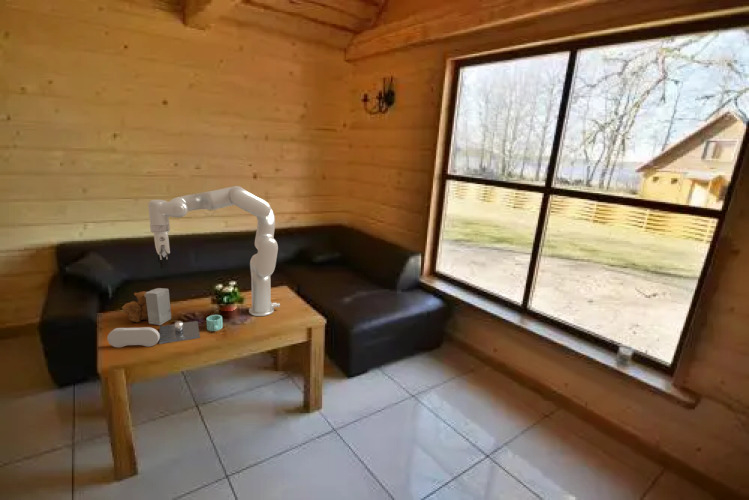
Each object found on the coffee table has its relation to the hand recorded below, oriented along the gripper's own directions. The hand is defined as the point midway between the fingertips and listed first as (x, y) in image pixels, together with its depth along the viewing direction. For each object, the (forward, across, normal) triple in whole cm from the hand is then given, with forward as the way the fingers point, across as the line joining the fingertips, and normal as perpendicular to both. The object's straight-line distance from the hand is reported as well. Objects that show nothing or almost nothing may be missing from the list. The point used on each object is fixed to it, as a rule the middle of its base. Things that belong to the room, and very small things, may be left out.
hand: (163, 264), depth 173 cm
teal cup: (+30, -13, -18) cm, 38 cm away
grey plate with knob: (+30, -11, -3) cm, 32 cm away
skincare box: (+30, +6, +3) cm, 31 cm away
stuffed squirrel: (+30, +13, +10) cm, 34 cm away
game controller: (+30, -15, +14) cm, 37 cm away
